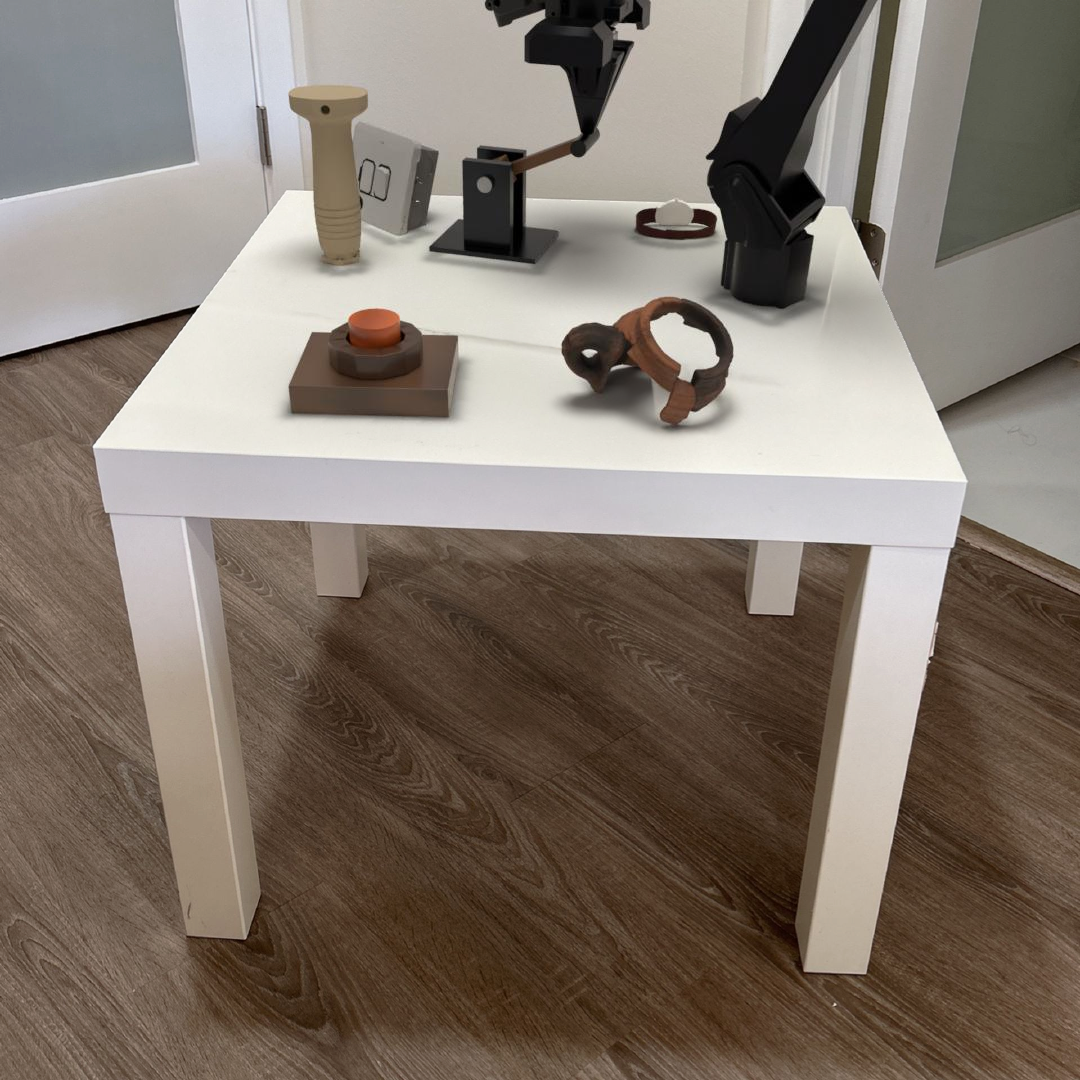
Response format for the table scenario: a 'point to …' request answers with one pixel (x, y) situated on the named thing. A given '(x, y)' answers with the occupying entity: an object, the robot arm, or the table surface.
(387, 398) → the button block
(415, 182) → the electrical switch
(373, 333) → the button
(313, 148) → the handle
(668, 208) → the watch
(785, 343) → the table surface
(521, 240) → the bracket
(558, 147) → the lever
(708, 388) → the brown curved ring piece
